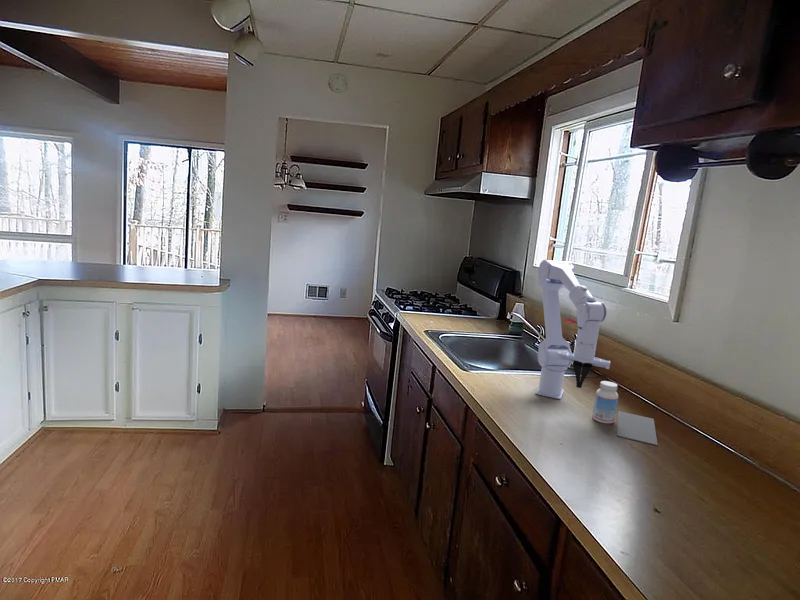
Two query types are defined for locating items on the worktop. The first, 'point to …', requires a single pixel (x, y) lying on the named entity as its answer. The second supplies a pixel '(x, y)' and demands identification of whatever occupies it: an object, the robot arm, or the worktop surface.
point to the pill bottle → (605, 402)
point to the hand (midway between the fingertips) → (579, 386)
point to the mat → (636, 428)
